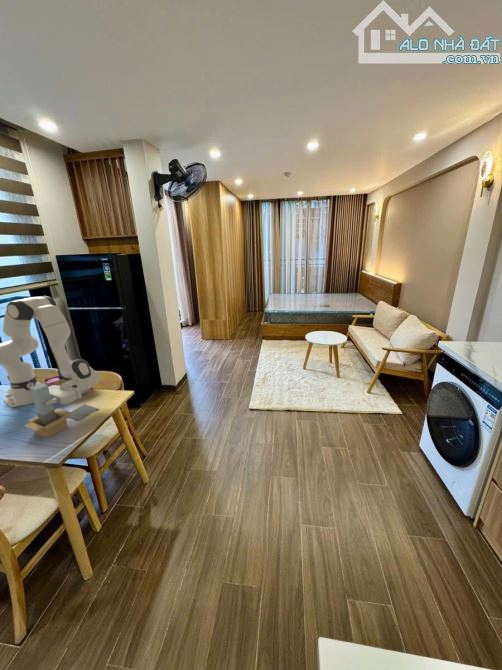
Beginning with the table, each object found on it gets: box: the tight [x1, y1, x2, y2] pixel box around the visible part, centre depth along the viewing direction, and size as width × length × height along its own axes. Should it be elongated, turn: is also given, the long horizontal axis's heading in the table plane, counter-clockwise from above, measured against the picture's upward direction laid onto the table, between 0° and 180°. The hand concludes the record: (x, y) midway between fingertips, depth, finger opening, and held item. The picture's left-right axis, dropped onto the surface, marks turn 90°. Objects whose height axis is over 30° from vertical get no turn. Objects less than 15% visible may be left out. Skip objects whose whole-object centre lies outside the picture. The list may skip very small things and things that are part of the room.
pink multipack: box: [44, 375, 94, 395], centre depth 163 cm, size 24×8×14 cm, turn 135°
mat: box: [66, 403, 100, 422], centre depth 145 cm, size 12×12×1 cm
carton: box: [23, 407, 71, 439], centre depth 130 cm, size 16×16×7 cm
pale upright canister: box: [30, 382, 57, 425], centre depth 126 cm, size 5×5×20 cm
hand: (41, 402), depth 125 cm, fingers closed on pale upright canister, 5 cm apart
